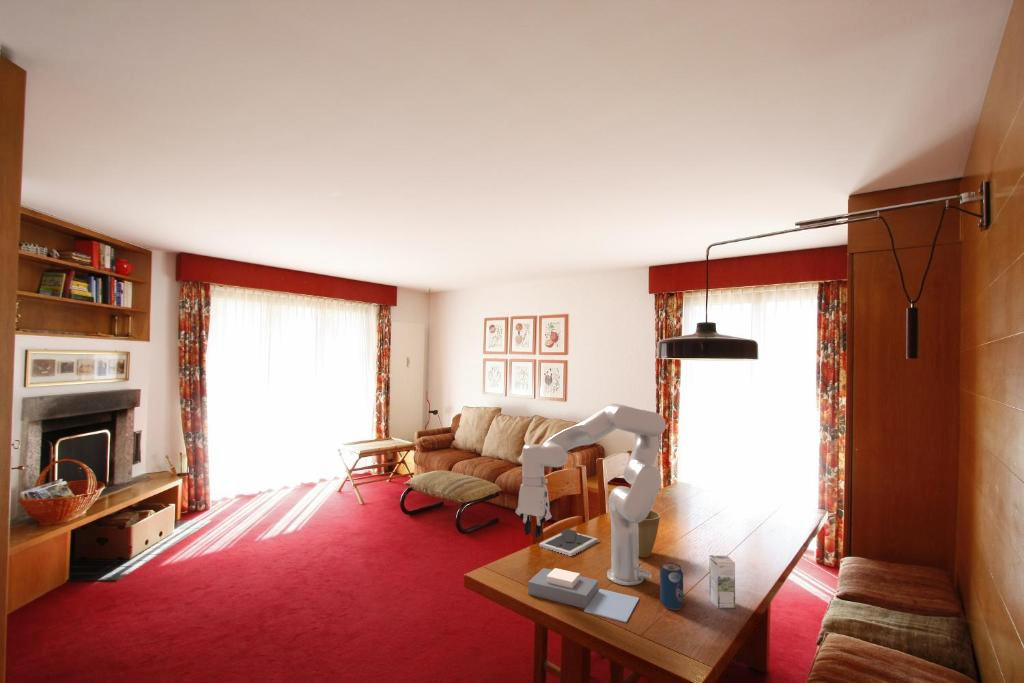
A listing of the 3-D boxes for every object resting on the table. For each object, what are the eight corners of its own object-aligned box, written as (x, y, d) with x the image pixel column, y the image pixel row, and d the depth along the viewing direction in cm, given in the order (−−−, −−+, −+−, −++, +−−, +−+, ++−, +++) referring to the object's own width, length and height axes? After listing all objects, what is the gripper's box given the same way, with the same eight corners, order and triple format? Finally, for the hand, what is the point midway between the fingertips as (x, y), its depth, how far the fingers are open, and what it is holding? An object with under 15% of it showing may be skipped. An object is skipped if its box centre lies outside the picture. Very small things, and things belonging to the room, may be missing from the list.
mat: (639, 599, 153) (639, 597, 153) (626, 622, 139) (626, 621, 139) (600, 590, 159) (600, 588, 159) (583, 611, 145) (583, 610, 145)
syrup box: (726, 599, 153) (725, 553, 153) (736, 609, 147) (735, 561, 147) (709, 600, 152) (708, 554, 153) (718, 609, 146) (717, 561, 147)
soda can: (683, 612, 145) (682, 572, 145) (659, 608, 147) (659, 568, 148) (683, 602, 151) (683, 563, 152) (661, 598, 154) (660, 560, 154)
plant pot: (657, 564, 179) (656, 521, 180) (618, 557, 186) (617, 516, 186) (662, 550, 193) (662, 510, 194) (625, 544, 199) (625, 506, 200)
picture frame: (567, 534, 213) (539, 548, 197) (567, 528, 213) (539, 541, 197) (598, 543, 202) (571, 558, 187) (597, 536, 202) (571, 551, 187)
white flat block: (579, 579, 158) (579, 573, 158) (572, 588, 152) (572, 581, 152) (554, 573, 162) (554, 568, 162) (546, 582, 156) (546, 576, 156)
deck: (598, 592, 157) (598, 580, 158) (586, 608, 147) (586, 595, 147) (543, 579, 167) (543, 567, 167) (528, 594, 156) (528, 581, 156)
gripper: (559, 481, 163) (559, 535, 162) (517, 476, 171) (517, 527, 170) (550, 486, 156) (551, 543, 156) (507, 480, 164) (507, 534, 163)
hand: (533, 534), depth 163 cm, fingers open, 3 cm apart
